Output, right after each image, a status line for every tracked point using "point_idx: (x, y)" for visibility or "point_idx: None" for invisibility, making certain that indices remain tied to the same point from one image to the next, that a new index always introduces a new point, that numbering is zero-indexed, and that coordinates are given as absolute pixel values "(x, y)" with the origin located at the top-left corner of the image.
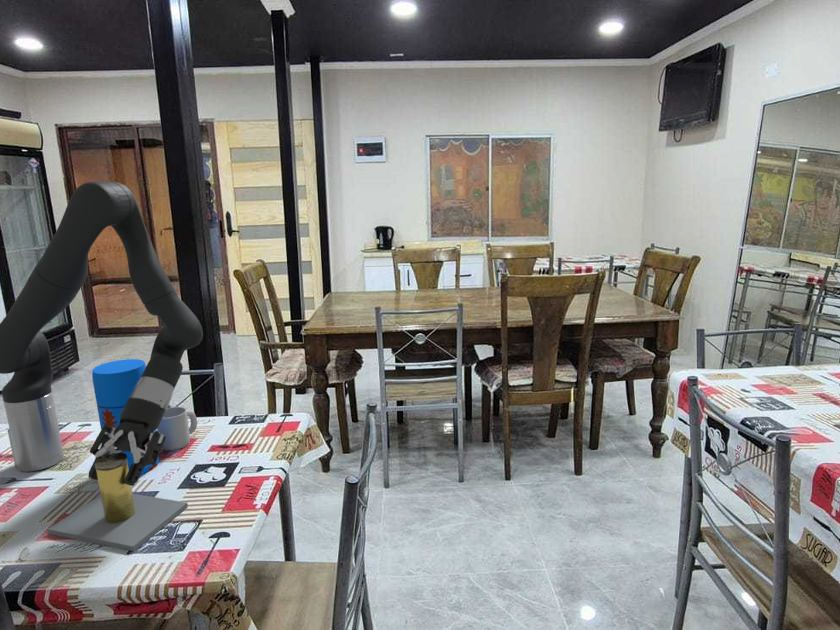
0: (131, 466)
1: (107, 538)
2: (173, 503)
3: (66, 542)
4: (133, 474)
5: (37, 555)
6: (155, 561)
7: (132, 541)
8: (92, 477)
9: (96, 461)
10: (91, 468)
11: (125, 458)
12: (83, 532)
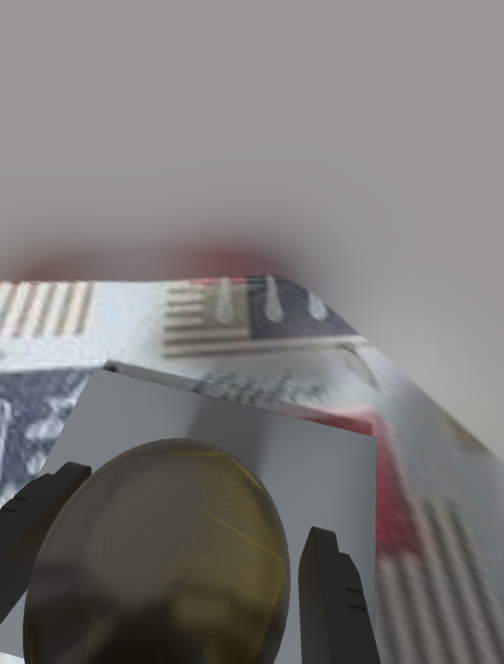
0: (3, 544)
1: (180, 399)
2: (16, 626)
3: (294, 406)
4: (18, 506)
5: (324, 361)
6: (35, 340)
7: (104, 386)
8: (310, 533)
9: (273, 527)
10: (358, 595)
11: (26, 602)
12: (263, 423)
